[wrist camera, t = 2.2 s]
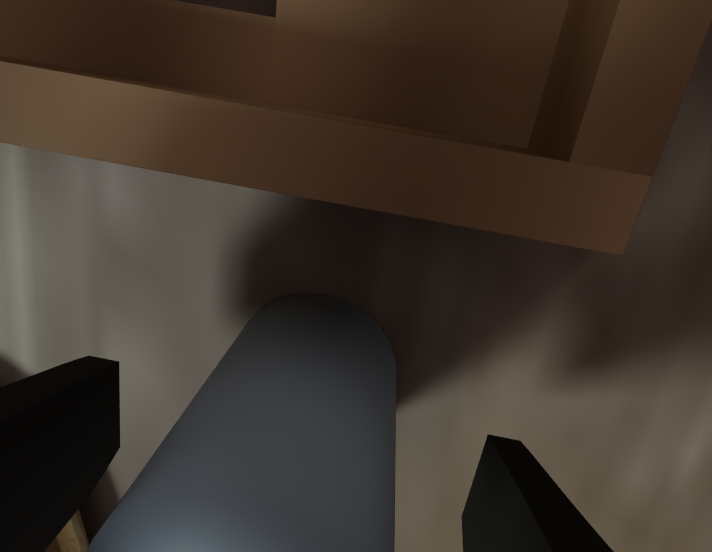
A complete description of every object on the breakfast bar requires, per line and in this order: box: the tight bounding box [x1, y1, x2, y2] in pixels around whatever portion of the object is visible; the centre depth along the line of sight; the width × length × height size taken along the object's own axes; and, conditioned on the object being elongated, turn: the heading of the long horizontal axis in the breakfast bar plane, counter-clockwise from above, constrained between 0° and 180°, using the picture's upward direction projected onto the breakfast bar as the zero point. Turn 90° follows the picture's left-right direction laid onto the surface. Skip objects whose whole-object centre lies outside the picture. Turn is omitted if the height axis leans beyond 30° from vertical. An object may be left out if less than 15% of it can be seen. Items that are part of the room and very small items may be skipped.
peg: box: [87, 294, 396, 552], centre depth 9 cm, size 4×4×6 cm
